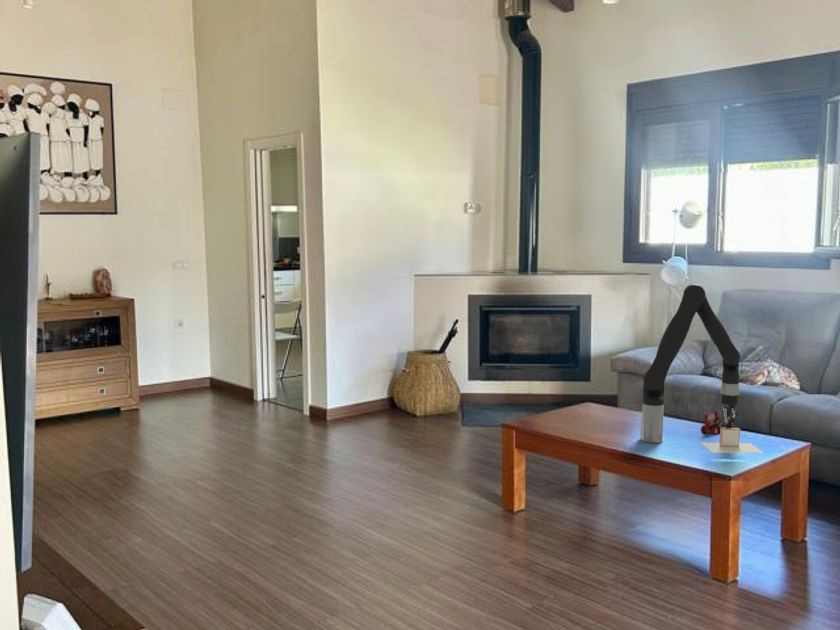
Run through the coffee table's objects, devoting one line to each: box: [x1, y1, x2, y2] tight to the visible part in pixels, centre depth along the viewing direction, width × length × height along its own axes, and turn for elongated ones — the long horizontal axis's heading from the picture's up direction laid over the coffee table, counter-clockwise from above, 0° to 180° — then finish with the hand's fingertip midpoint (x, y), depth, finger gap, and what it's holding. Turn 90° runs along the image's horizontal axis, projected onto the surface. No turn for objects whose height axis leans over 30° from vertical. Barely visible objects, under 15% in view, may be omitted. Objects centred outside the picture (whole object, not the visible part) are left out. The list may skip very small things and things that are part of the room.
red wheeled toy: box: [700, 411, 725, 435], centre depth 372 cm, size 7×12×10 cm, turn 129°
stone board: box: [700, 442, 764, 454], centre depth 345 cm, size 22×16×1 cm
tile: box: [718, 427, 741, 446], centre depth 347 cm, size 8×2×8 cm, turn 88°
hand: (728, 431), depth 349 cm, fingers closed
